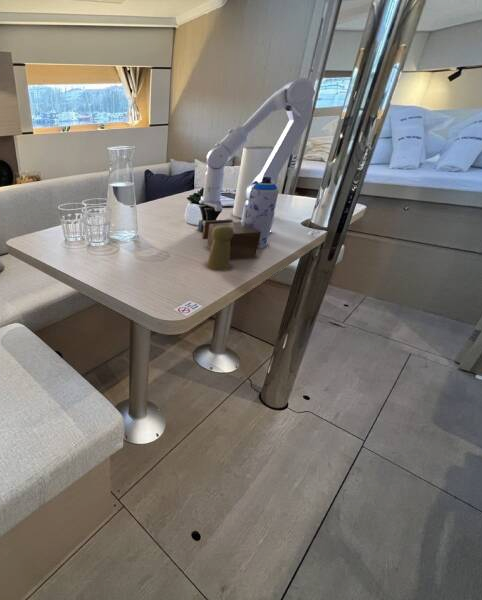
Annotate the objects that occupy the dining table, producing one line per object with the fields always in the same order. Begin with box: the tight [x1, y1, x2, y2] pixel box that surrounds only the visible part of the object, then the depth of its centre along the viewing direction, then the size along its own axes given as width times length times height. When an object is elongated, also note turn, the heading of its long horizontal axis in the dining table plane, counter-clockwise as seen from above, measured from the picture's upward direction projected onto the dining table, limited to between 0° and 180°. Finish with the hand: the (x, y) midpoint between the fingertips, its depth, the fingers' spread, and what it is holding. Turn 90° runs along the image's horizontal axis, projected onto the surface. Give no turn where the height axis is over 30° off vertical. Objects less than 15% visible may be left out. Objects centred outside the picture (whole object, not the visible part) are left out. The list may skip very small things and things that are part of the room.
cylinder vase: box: [232, 145, 276, 219], centre depth 122 cm, size 12×12×25 cm
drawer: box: [201, 218, 234, 241], centre depth 101 cm, size 14×9×6 cm, turn 4°
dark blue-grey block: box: [197, 219, 206, 233], centre depth 113 cm, size 6×3×4 cm, turn 94°
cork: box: [206, 226, 234, 271], centre depth 84 cm, size 6×6×11 cm
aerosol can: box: [244, 177, 279, 249], centre depth 95 cm, size 8×8×20 cm
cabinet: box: [206, 221, 261, 260], centre depth 93 cm, size 11×10×8 cm
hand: (207, 226), depth 114 cm, fingers closed on dark blue-grey block, 3 cm apart
